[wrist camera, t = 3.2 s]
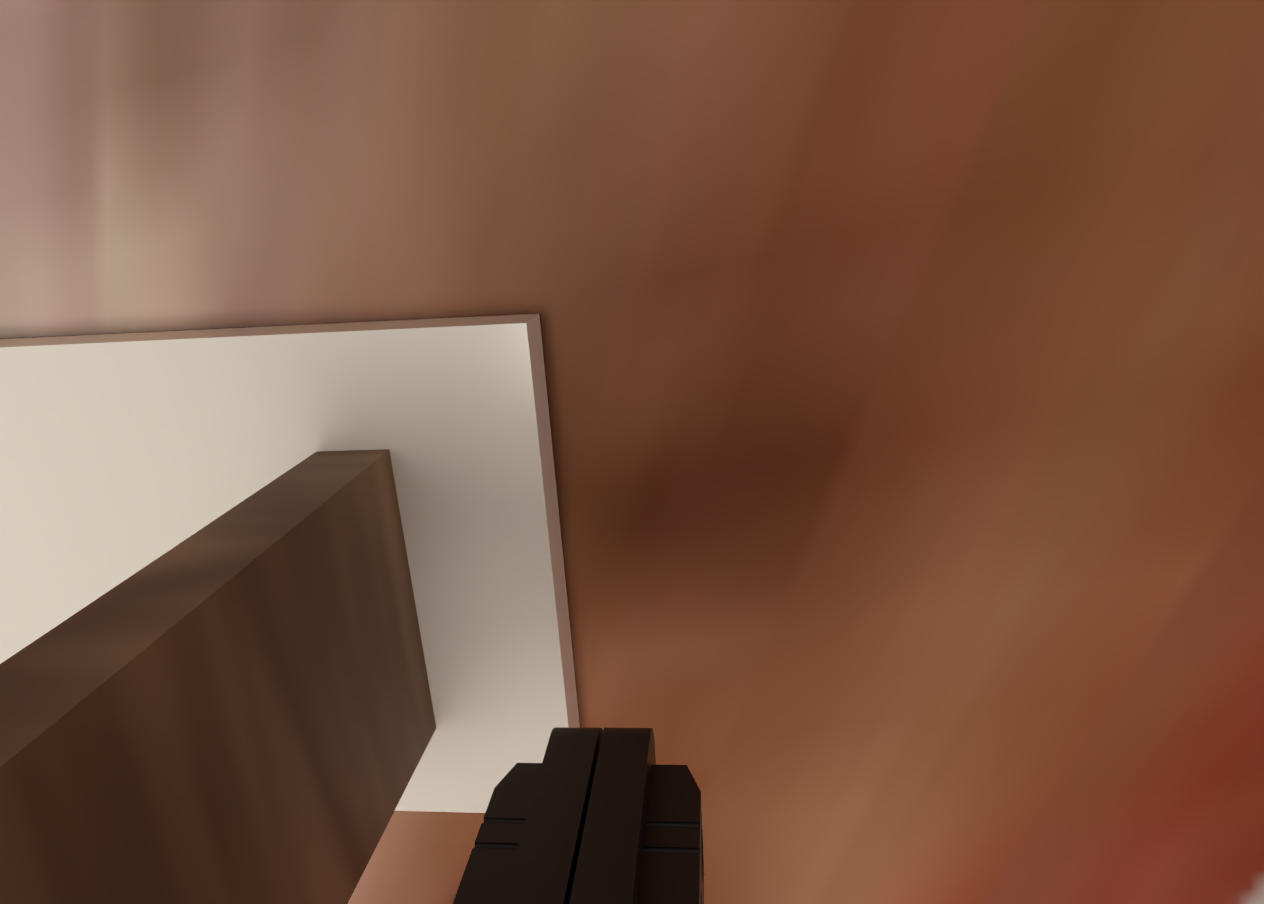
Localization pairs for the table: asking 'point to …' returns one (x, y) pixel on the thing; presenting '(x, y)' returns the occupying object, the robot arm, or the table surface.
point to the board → (276, 442)
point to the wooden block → (224, 709)
